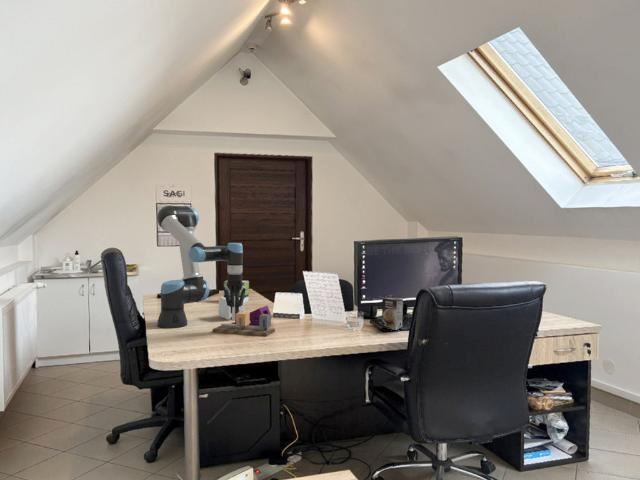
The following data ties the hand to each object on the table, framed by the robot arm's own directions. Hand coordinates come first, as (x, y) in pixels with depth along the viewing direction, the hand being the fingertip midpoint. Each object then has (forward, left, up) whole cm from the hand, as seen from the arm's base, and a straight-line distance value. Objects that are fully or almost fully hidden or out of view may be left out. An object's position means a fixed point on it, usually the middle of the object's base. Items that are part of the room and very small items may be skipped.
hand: (234, 319), depth 245 cm
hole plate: (+6, -1, -5) cm, 8 cm away
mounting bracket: (+1, +18, -6) cm, 19 cm away
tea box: (-38, +82, -6) cm, 91 cm away
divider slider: (+5, -1, -3) cm, 6 cm away
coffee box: (+76, +30, -6) cm, 81 cm away
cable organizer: (-16, +30, -6) cm, 35 cm away
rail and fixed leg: (+6, -1, -4) cm, 7 cm away
